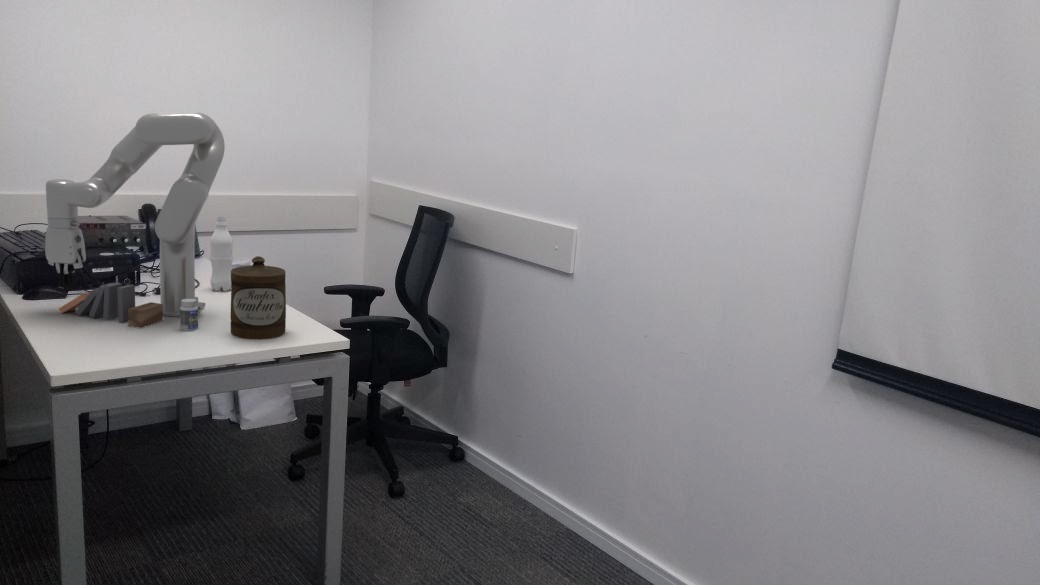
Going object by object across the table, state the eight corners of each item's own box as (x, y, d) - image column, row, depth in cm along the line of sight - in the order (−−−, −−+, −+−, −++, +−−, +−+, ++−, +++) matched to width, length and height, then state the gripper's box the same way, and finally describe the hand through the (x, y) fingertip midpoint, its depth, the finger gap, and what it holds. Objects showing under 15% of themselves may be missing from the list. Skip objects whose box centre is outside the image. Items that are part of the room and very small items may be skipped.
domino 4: (120, 316, 225) (122, 283, 222) (107, 320, 220) (109, 286, 218) (116, 315, 225) (117, 282, 223) (103, 319, 220) (104, 285, 218)
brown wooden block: (162, 320, 224) (162, 304, 223) (141, 328, 215) (140, 310, 214) (150, 318, 225) (150, 302, 224) (128, 326, 216) (128, 308, 215)
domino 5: (135, 318, 224) (134, 285, 222) (123, 322, 219) (122, 288, 217) (130, 318, 224) (129, 284, 222) (118, 322, 219) (117, 287, 217)
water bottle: (224, 286, 270) (224, 215, 265) (237, 290, 266) (237, 218, 261) (206, 289, 265) (205, 216, 259) (218, 293, 261) (218, 219, 255)
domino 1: (74, 309, 228) (98, 295, 225) (61, 313, 223) (85, 298, 220) (72, 304, 228) (95, 290, 225) (58, 308, 223) (82, 293, 220)
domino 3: (106, 314, 226) (117, 285, 223) (93, 318, 221) (104, 288, 218) (101, 311, 226) (112, 282, 223) (88, 315, 221) (99, 285, 218)
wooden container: (232, 341, 211) (231, 261, 206) (229, 326, 224) (229, 251, 219) (288, 339, 217) (289, 261, 212) (282, 324, 230) (283, 252, 225)
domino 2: (92, 312, 227) (110, 289, 224) (78, 316, 222) (97, 293, 219) (88, 308, 227) (106, 285, 224) (75, 311, 222) (93, 288, 219)
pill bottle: (191, 332, 216) (191, 302, 214) (176, 329, 217) (176, 300, 215) (201, 328, 220) (201, 299, 218) (186, 325, 221) (186, 297, 219)
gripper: (95, 224, 222) (98, 287, 226) (51, 219, 225) (55, 281, 229) (75, 227, 215) (78, 292, 219) (30, 222, 218) (34, 285, 222)
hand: (66, 286), depth 224 cm, fingers closed
